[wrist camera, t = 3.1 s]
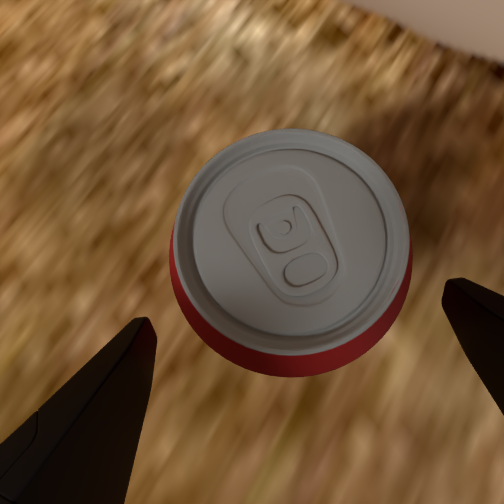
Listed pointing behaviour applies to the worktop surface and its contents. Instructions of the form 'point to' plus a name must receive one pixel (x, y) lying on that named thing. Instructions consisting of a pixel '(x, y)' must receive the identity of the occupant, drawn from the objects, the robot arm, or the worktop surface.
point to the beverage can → (291, 253)
